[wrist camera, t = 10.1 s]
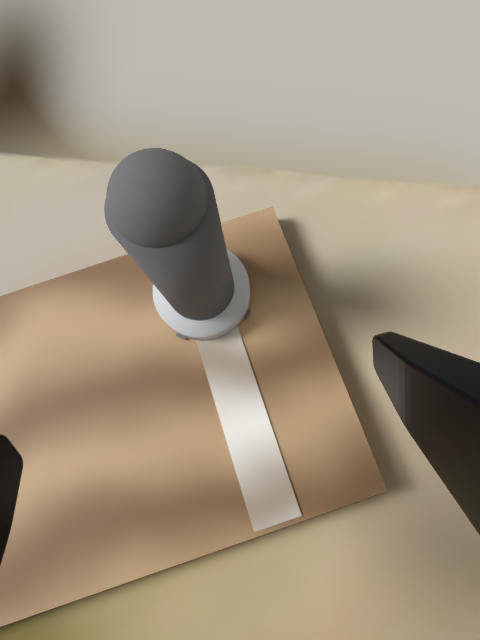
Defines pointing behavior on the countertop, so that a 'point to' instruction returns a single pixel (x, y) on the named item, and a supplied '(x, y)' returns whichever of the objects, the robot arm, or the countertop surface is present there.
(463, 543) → the countertop surface
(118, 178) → the grey domed cylinder
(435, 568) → the countertop surface
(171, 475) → the board
